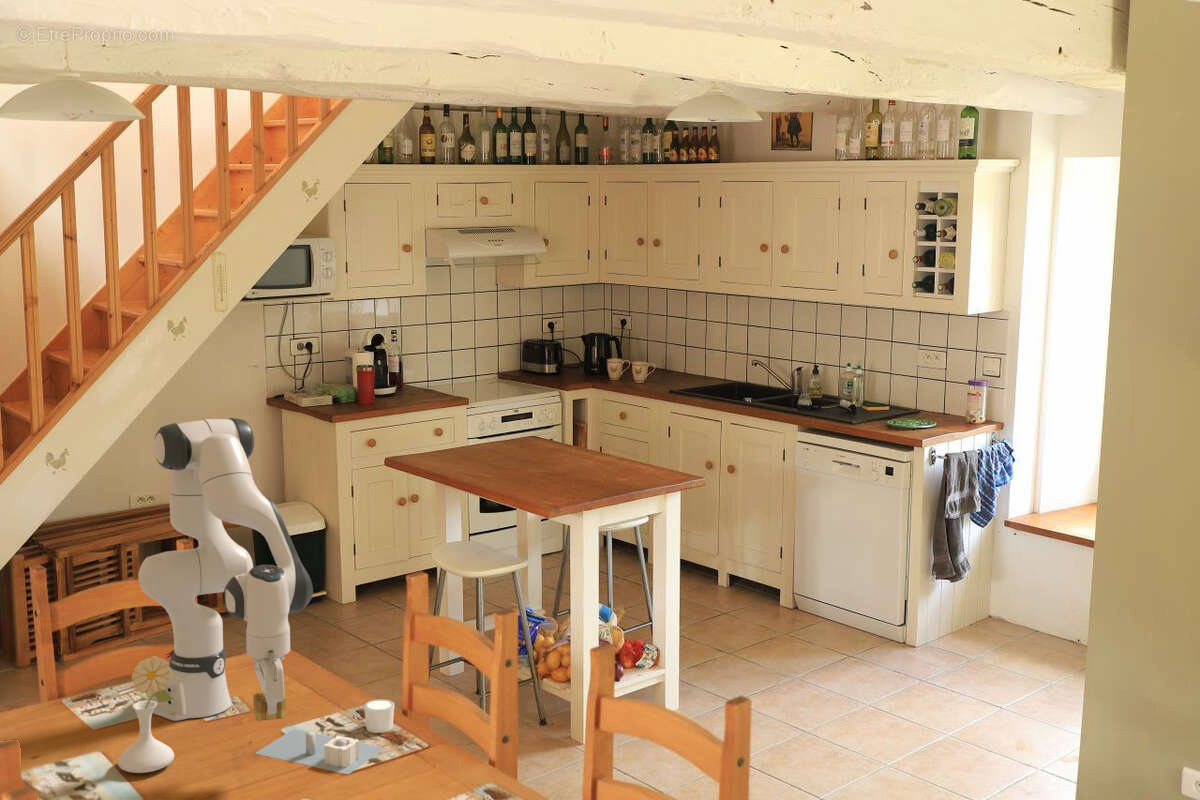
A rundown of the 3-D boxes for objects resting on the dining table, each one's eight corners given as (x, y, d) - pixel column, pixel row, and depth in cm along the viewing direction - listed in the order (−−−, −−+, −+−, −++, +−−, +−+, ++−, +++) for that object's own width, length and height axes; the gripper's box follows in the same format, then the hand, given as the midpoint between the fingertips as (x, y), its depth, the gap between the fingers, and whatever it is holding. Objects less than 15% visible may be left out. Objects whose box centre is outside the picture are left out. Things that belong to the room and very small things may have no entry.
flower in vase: (105, 772, 252) (101, 659, 248) (143, 751, 262) (139, 642, 259) (156, 783, 247) (152, 668, 244) (192, 761, 258) (189, 650, 254)
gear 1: (244, 717, 249) (244, 699, 249) (266, 707, 256) (266, 689, 255) (272, 723, 246) (272, 704, 246) (293, 712, 253) (294, 694, 253)
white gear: (327, 770, 252) (327, 752, 251) (321, 756, 258) (321, 738, 258) (361, 764, 255) (361, 747, 254) (355, 751, 261) (355, 733, 261)
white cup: (388, 741, 270) (387, 711, 269) (359, 738, 271) (359, 708, 270) (399, 729, 277) (398, 700, 276) (371, 726, 278) (371, 697, 277)
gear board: (254, 759, 259) (254, 733, 258) (294, 735, 272) (293, 710, 271) (348, 781, 250) (348, 754, 249) (384, 754, 263) (384, 728, 262)
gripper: (291, 659, 241) (292, 724, 243) (277, 626, 259) (278, 687, 261) (259, 662, 238) (260, 728, 240) (247, 629, 257) (248, 691, 259)
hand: (269, 706), depth 251 cm, fingers closed on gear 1, 6 cm apart
